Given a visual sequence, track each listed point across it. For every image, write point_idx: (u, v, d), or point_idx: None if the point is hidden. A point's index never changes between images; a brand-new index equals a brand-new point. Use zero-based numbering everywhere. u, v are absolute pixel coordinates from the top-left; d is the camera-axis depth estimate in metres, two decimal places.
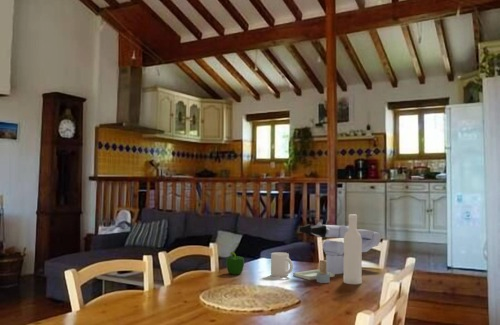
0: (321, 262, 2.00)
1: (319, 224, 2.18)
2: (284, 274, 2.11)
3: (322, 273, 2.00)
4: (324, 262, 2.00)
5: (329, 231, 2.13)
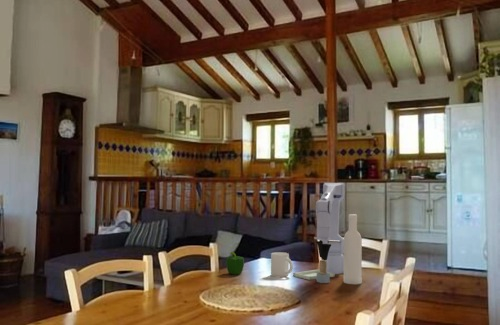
0: (321, 262, 2.00)
1: None
2: (284, 274, 2.11)
3: (322, 273, 2.00)
4: (324, 262, 2.00)
5: (325, 241, 1.95)
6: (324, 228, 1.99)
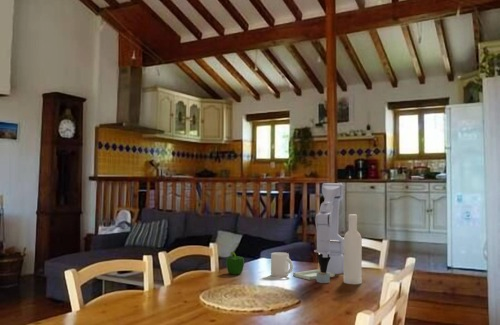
0: None
1: None
2: (284, 274, 2.11)
3: (322, 273, 2.00)
4: None
5: (324, 255, 1.94)
6: (324, 241, 1.99)
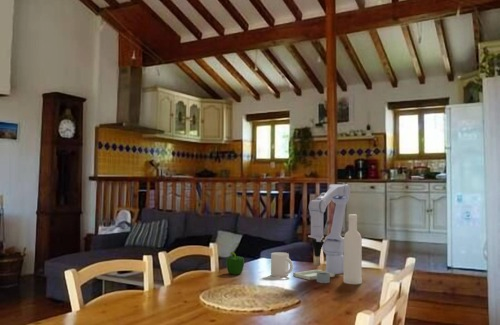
0: None
1: None
2: (284, 274, 2.11)
3: (316, 257, 2.08)
4: None
5: (318, 239, 2.03)
6: (318, 227, 2.08)
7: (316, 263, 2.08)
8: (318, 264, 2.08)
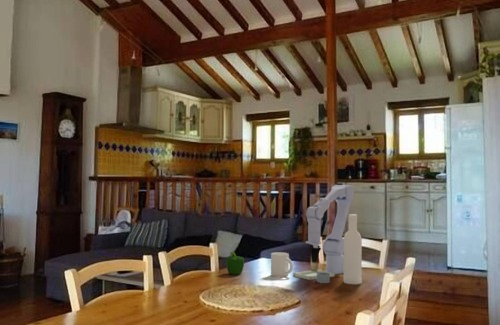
0: None
1: (308, 243, 2.13)
2: (284, 274, 2.11)
3: (313, 263, 2.12)
4: None
5: (315, 246, 2.06)
6: (315, 233, 2.11)
7: (313, 268, 2.12)
8: (315, 270, 2.12)
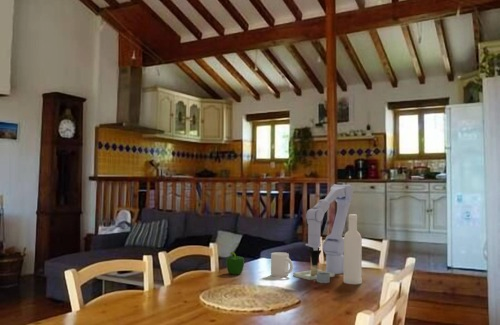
0: None
1: (308, 245, 2.13)
2: (284, 274, 2.11)
3: (313, 267, 2.12)
4: None
5: (315, 248, 2.06)
6: (315, 235, 2.11)
7: (313, 273, 2.12)
8: (315, 274, 2.12)
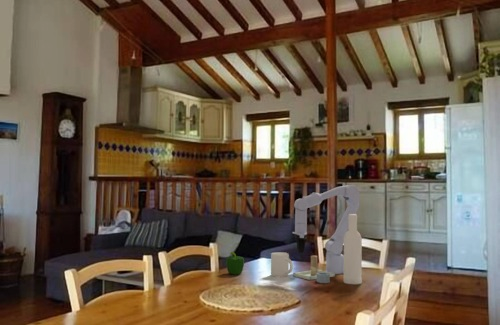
0: (312, 257, 2.12)
1: (294, 233, 2.23)
2: (284, 274, 2.11)
3: (313, 268, 2.12)
4: (315, 257, 2.12)
5: (301, 236, 2.16)
6: (301, 224, 2.21)
7: (313, 273, 2.12)
8: (315, 274, 2.12)
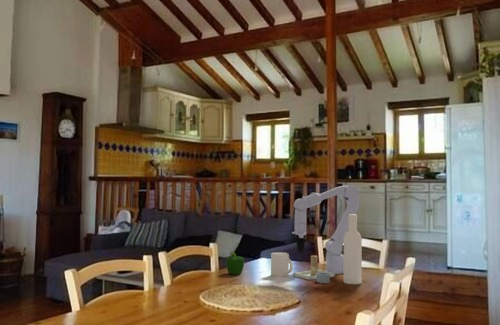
0: (312, 257, 2.12)
1: (294, 233, 2.23)
2: (284, 274, 2.11)
3: (313, 268, 2.12)
4: (315, 257, 2.12)
5: (301, 236, 2.16)
6: (301, 224, 2.21)
7: (313, 273, 2.12)
8: (315, 274, 2.12)
